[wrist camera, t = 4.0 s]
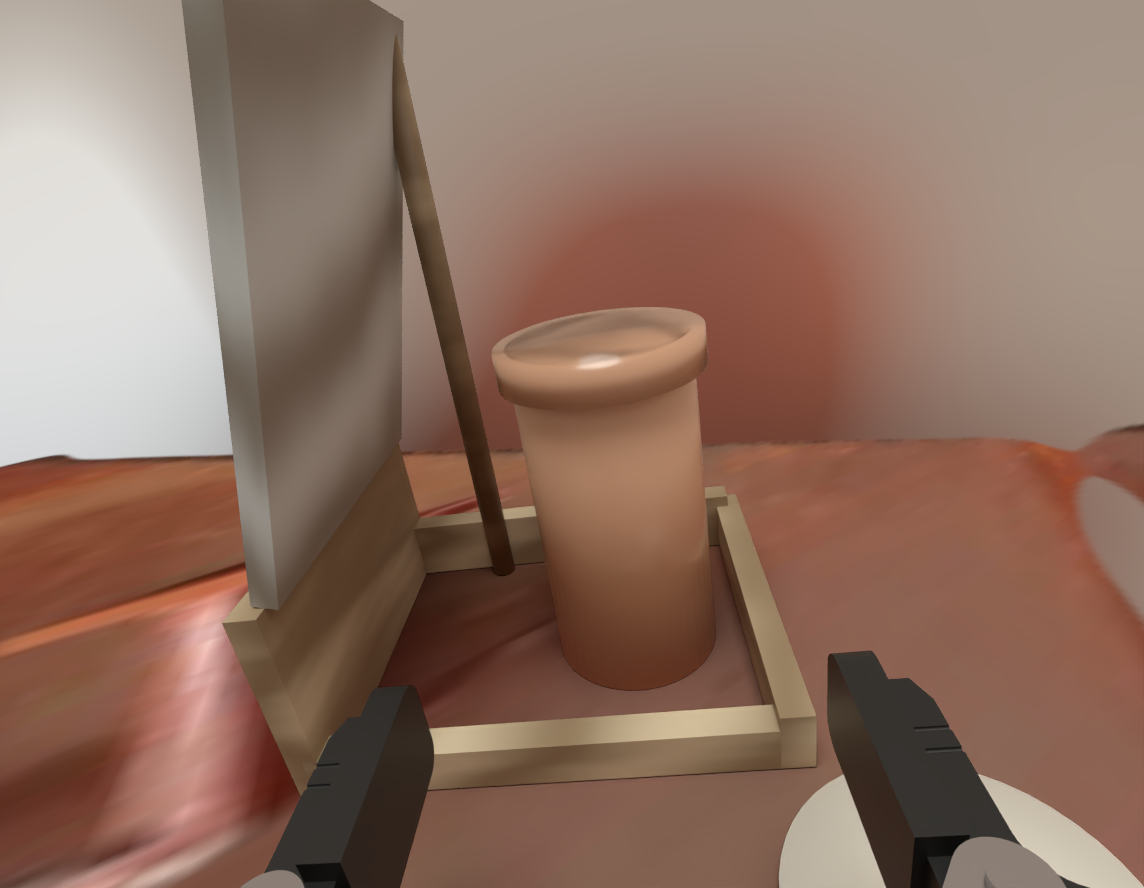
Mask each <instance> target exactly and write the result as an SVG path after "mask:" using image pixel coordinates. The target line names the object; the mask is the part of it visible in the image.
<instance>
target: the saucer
mask: <svg viewBox="0 0 1144 888" xmlns="http://www.w3.org/2000/svg"><path fill="white" fill-rule="evenodd" d="M978 775H979V777H980V779H981V780H982V782H983V784H984V786H985V787H986V789H987V791H988V792H989V794H990V796H991V797H992V799H993V801H994V803H995V804H996V806H997V808H998V809H999V811H1000V813H1001V814H1002V816H1003V818H1004V820H1005V821H1006V823H1007V825H1008V826H1009V828H1010V830H1011V831H1012V833H1013V834H1014V836H1015V837H1016V839H1017V840H1018V842H1019V843H1020V844H1021V845H1022V846H1023V847H1025V848H1026V849H1028V850H1030V851H1031V852H1033V853H1034V854H1036V855H1037V856H1039V857H1040V858H1041V859H1043V860H1044V861H1045V862H1046V863H1047V864H1048V865H1049V866H1050V867H1051V868H1052V869H1053V870H1054V871H1055V872H1056V873H1057V874H1058V875H1060V876H1062V877H1064V878H1066V879H1067V880H1070V881H1072V882H1075V883H1077V884H1079V885H1083V886H1086V887H1089V888H1144V887H1143V885H1142V884H1141V883H1140V882H1139V881H1138V880H1137V879H1136V878H1135V877H1134V876H1133V875H1132V873H1131V872H1130V871H1129V870H1128V869H1127V868H1126V867H1125V866H1124V865H1123V864H1122V863H1121V862H1120V861H1119V860H1118V859H1117V858H1116V857H1115V856H1114V855H1113V854H1111V853H1110V852H1109V851H1108V850H1107V849H1106V848H1105V847H1104V846H1103V845H1102V844H1100V843H1099V842H1098V841H1097V840H1096V839H1095V838H1093V837H1092V836H1091V835H1089V834H1088V833H1087V832H1085V831H1084V830H1083V829H1082V828H1080V827H1079V826H1078V825H1076V824H1075V823H1074V822H1072V821H1071V820H1069V819H1068V818H1066V817H1065V816H1063V815H1062V814H1060V813H1059V812H1057V811H1056V810H1054V809H1053V808H1051V807H1049V806H1048V805H1046V804H1044V803H1042V802H1040V801H1039V800H1037V799H1035V798H1033V797H1032V796H1030V795H1028V794H1026V793H1024V792H1022V791H1019V790H1017V789H1015V788H1013V787H1011V786H1009V785H1007V784H1004V783H1002V782H999V781H996V780H994V779H991V778H988V777H986V776H983V775H980V774H978ZM779 888H886V886H885V884H884V881H883V878H882V876H881V873H880V870H879V868H878V865H877V862H876V860H875V857H874V854H873V852H872V849H871V846H870V844H869V841H868V838H867V836H866V833H865V830H864V828H863V825H862V822H861V820H860V817H859V814H858V812H857V809H856V806H855V804H854V801H853V798H852V796H851V793H850V790H849V788H848V785H847V782H846V779H845V777H844V775H841V776H840V777H838V778H836V779H834V780H833V781H831V782H829V783H827V784H826V785H825V786H823V787H822V788H821V789H820V790H818V791H817V792H816V793H814V794H813V796H812V797H811V798H810V799H809V800H808V801H807V802H806V803H805V804H804V805H803V806H802V808H801V809H800V811H799V812H798V814H797V816H796V817H795V819H794V820H793V822H792V824H791V827H790V829H789V831H788V833H787V836H786V839H785V842H784V846H783V850H782V854H781V861H780V870H779Z"/></svg>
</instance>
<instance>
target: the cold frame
mask: <svg viewBox="0 0 1144 888" xmlns="http://www.w3.org/2000/svg"><path fill="white" fill-rule="evenodd" d="M182 8H183V16H184V25H185V34H186V43H187V51H188V60H189V69H190V78H191V87H192V96H193V105H194V113H195V121H196V131H197V140H198V149H199V157H200V166H201V175H202V184H203V192H204V202H205V210H206V218H207V227H208V236H209V245H210V254H211V263H212V271H213V281H214V290H215V298H216V307H217V316H218V325H219V333H220V341H221V351H222V360H223V369H224V378H225V386H226V395H227V404H228V413H229V422H230V431H231V439H232V447H233V457H234V466H235V475H236V484H237V492H238V501H239V510H240V519H241V528H242V536H243V545H244V554H245V563H246V572H247V580H248V589H249V591H248V592H247V593H246V594H245V596H244V597H243V598H242V599H241V601H240V602H239V603H238V604H237V605H236V607H235V608H234V609H233V610H232V612H231V613H230V614H229V615H228V616H227V618H226V619H225V620H224V621H223V623H222V624H223V626H224V628H225V631H226V633H227V635H228V637H229V639H230V642H231V644H232V646H233V648H234V650H235V653H236V655H237V657H238V659H239V661H240V664H241V666H242V668H243V670H244V672H245V675H246V677H247V679H248V681H249V683H250V686H251V688H252V690H253V692H254V694H255V697H256V699H257V701H258V703H259V705H260V708H261V710H262V712H263V714H264V716H265V719H266V721H267V723H268V725H269V727H270V730H271V732H272V734H273V736H274V738H275V741H276V743H277V745H278V747H279V749H280V752H281V754H282V756H283V758H284V760H285V763H286V765H287V767H288V769H289V771H290V774H291V776H292V778H293V780H294V782H295V785H296V787H297V789H298V791H299V793H300V796H302V794H303V792H304V790H306V789H307V783H308V781H309V779H310V777H311V775H312V773H313V771H314V769H316V768H317V765H316V764H317V762H318V760H319V758H320V756H321V754H322V752H323V750H324V748H325V745H326V743H327V741H328V739H329V738H330V737H331V736H332V735H333V734H334V733H335V732H336V731H337V730H338V728H339V727H340V726H341V725H342V724H343V723H344V722H345V721H346V720H347V719H348V718H350V717H360V716H361V714H362V712H363V709H364V707H365V705H366V703H367V700H368V698H369V696H370V694H371V692H372V691H373V690H374V689H375V688H378V685H379V683H380V681H381V678H382V676H383V674H384V672H385V669H386V667H387V665H388V662H389V660H390V658H391V655H392V653H393V651H394V648H395V646H396V644H397V641H398V639H399V637H400V634H401V632H402V630H403V627H404V625H405V623H406V620H407V618H408V616H409V613H410V611H411V609H412V606H413V604H414V602H415V599H416V597H417V595H418V592H419V590H420V588H421V585H422V583H423V581H424V578H425V576H426V574H427V573H433V572H443V571H453V570H464V569H474V568H484V567H493V569H494V573H495V574H497V575H507V574H510V573H511V572H513V571H514V569H515V564H525V563H536V562H545V557H544V552H543V547H542V542H541V537H540V532H539V527H538V522H537V517H536V511H535V506H529V507H519V508H510V509H502V506H501V502H500V497H499V493H498V488H497V484H496V479H495V474H494V470H493V465H492V461H491V456H490V452H489V447H488V443H487V439H486V434H485V430H484V425H483V420H482V416H481V412H480V407H479V402H478V398H477V393H476V389H475V384H474V380H473V375H472V370H471V366H470V361H469V357H468V352H467V348H466V344H465V339H464V334H463V330H462V325H461V321H460V317H459V312H458V307H457V303H456V298H455V294H454V289H453V285H452V280H451V276H450V271H449V266H448V262H447V258H446V253H445V248H444V244H443V239H442V235H441V230H440V226H439V222H438V217H437V213H436V208H435V203H434V199H433V194H432V190H431V185H430V181H429V176H428V171H427V167H426V162H425V158H424V154H423V149H422V144H421V140H420V135H419V131H418V127H417V122H416V117H415V113H414V108H413V104H412V99H411V95H410V90H409V86H408V82H407V77H406V72H405V67H404V63H403V21H402V20H400V19H399V18H397V17H396V16H394V15H392V14H391V13H389V12H388V11H386V10H384V9H383V8H381V7H380V6H377V5H376V4H374V3H373V2H371V1H370V0H182ZM403 189H404V194H405V198H406V202H407V206H408V211H409V215H410V219H411V223H412V227H413V231H414V236H415V240H416V244H417V249H418V253H419V257H420V261H421V265H422V270H423V274H424V278H425V282H426V286H427V290H428V295H429V299H430V303H431V308H432V311H433V316H434V320H435V324H436V328H437V333H438V337H439V341H440V345H441V350H442V354H443V358H444V362H445V367H446V371H447V375H448V379H449V383H450V388H451V392H452V396H453V400H454V404H455V408H456V413H457V417H458V421H459V426H460V430H461V434H462V438H463V442H464V446H465V451H466V455H467V459H468V464H469V468H470V472H471V476H472V480H473V485H474V489H475V493H476V497H477V501H478V506H479V510H480V512H472V513H463V514H454V515H444V516H435V517H425V518H420V517H419V514H418V510H417V506H416V503H415V499H414V496H413V492H412V489H411V485H410V482H409V478H408V474H407V471H406V467H405V464H404V460H403V457H402V453H401V450H400V446H399V441H400V440H401V426H402V425H401V422H402V421H401V420H402V419H401V418H402V415H401V414H402V398H401V397H402V215H403V214H402V211H403V209H402V207H403V206H402V205H403V203H402V202H403ZM705 499H706V512H707V525H708V538H709V546H711V545H719V546H720V549H721V553H722V556H723V560H724V564H725V567H726V571H727V574H728V578H729V582H730V585H731V589H732V592H733V596H734V599H735V603H736V607H737V610H738V614H739V617H740V621H741V625H742V628H743V632H744V635H745V639H746V643H747V646H748V650H749V653H750V657H751V661H752V664H753V668H754V671H755V675H756V679H757V682H758V686H759V689H760V693H761V697H762V700H763V704H764V705H758V706H744V707H730V708H716V709H701V710H687V711H673V712H659V713H645V714H631V715H616V716H602V717H588V718H574V719H560V720H546V721H532V722H517V723H503V724H489V725H475V726H461V727H447V728H432V729H429V730H430V733H431V736H432V739H433V744H434V766H433V772H432V776H431V780H430V783H429V787H428V790H436V789H452V788H469V787H485V786H502V785H519V784H535V783H552V782H568V781H585V780H602V779H618V778H635V777H652V776H668V775H685V774H701V773H718V772H735V771H751V770H768V769H785V768H801V767H816V714H815V711H814V708H813V705H812V703H811V700H810V697H809V694H808V692H807V689H806V686H805V683H804V681H803V678H802V675H801V673H800V670H799V667H798V664H797V662H796V659H795V656H794V653H793V651H792V648H791V645H790V642H789V640H788V637H787V634H786V631H785V629H784V626H783V623H782V620H781V618H780V615H779V612H778V610H777V607H776V604H775V601H774V599H773V596H772V593H771V590H770V588H769V585H768V582H767V579H766V577H765V574H764V571H763V568H762V566H761V563H760V560H759V558H758V555H757V552H756V549H755V547H754V544H753V541H752V538H751V536H750V533H749V530H748V527H747V525H746V522H745V519H744V516H743V514H742V511H741V508H740V506H739V503H738V500H737V497H736V495H735V494H731V495H727V494H726V491H725V488H724V486H716V487H707V488H705Z"/></svg>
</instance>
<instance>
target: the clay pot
mask: <svg viewBox="0 0 1144 888" xmlns="http://www.w3.org/2000/svg"><path fill="white" fill-rule="evenodd" d="M491 353H492V359H493V363H494V368H495V374H496V379H497V384H498V388H499V392H500V394H501V396H502V397H504V398H505V399H506V400H508V401H510V402H512V403H514V405H515V409H516V414H517V420H518V425H519V430H520V435H521V440H522V445H523V450H524V455H525V461H526V466H527V471H528V476H529V481H530V486H531V491H532V496H533V501H534V506H535V511H536V517H537V522H538V527H539V532H540V537H541V542H542V547H543V552H544V557H545V562H546V567H547V572H548V578H549V583H550V588H551V593H552V598H553V603H554V608H555V613H556V618H557V623H558V628H559V633H560V639H561V644H562V649H563V653H564V655H565V658H566V660H567V661H568V663H569V665H570V666H571V667H572V668H573V669H574V670H575V671H576V672H577V673H578V674H580V675H581V676H582V677H584V678H586V679H587V680H589V681H591V682H593V683H596V684H598V685H601V686H605V687H608V688H614V689H620V690H645V689H652V688H657V687H661V686H665V685H668V684H671V683H674V682H676V681H678V680H680V679H682V678H684V677H686V676H687V675H689V674H691V673H692V672H693V671H695V670H696V669H697V668H698V667H699V666H700V665H701V664H702V663H703V662H704V661H705V660H706V659H707V657H708V656H709V654H710V653H711V651H712V648H713V646H714V642H715V636H716V630H715V617H714V604H713V591H712V578H711V565H710V552H709V538H708V525H707V512H706V499H705V486H704V473H703V460H702V447H701V434H700V420H699V407H698V394H697V382H696V378H697V377H698V376H699V375H700V374H701V373H702V372H703V371H704V370H705V368H706V367H707V364H708V354H707V339H706V325H705V321H704V319H703V318H702V317H701V316H699V315H697V314H695V313H692V312H689V311H685V310H680V309H673V308H661V307H660V308H659V307H635V308H619V309H609V310H601V311H594V312H587V313H582V314H576V315H571V316H566V317H562V318H558V319H554V320H550V321H546V322H543V323H539V324H536V325H534V326H530V327H528V328H525V329H522V330H520V331H518V332H515V333H513V334H512V335H509V336H507V337H506V338H504V339H502V340H501V341H500V342H498V343H497V344H496V345H495V347H494V348H493V350H492V352H491Z"/></svg>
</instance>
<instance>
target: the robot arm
mask: <svg viewBox="0 0 1144 888" xmlns="http://www.w3.org/2000/svg"><path fill="white" fill-rule="evenodd" d="M827 716H828V725H829V731H830V736H831V740H832V744H833V747H834V750H835V753H836V755H837V758H838V761H839V763H840V766H841V769H842V771H843V774H844V777H845V779H846V782H847V785H848V788H849V790H850V793H851V796H852V798H853V801H854V804H855V806H856V809H857V812H858V814H859V817H860V820H861V822H862V825H863V828H864V830H865V833H866V836H867V838H868V841H869V844H870V846H871V849H872V852H873V854H874V857H875V860H876V862H877V865H878V868H879V870H880V873H881V876H882V878H883V881H884V884H885V886H886V888H1089V887H1086V886H1083V885H1079V884H1077V883H1075V882H1072V881H1070V880H1067V879H1066V878H1064V877H1062V876H1060V875H1058V874H1057V873H1056V872H1055V871H1054V870H1053V869H1052V868H1051V867H1050V866H1049V865H1048V864H1047V863H1046V862H1045V861H1044V860H1043V859H1041V858H1040V857H1039V856H1037V855H1036V854H1034V853H1033V852H1031V851H1030V850H1028V849H1026V848H1025V847H1023V846H1022V845H1021V844H1020V843H1019V842H1018V840H1017V839H1016V837H1015V836H1014V834H1013V833H1012V831H1011V830H1010V828H1009V826H1008V825H1007V823H1006V821H1005V820H1004V818H1003V816H1002V814H1001V813H1000V811H999V809H998V808H997V806H996V804H995V803H994V801H993V799H992V797H991V796H990V794H989V792H988V791H987V789H986V787H985V786H984V784H983V782H982V780H981V779H980V777H979V775H978V774H977V772H976V770H975V769H974V767H973V765H972V763H971V762H970V760H969V758H968V757H967V755H966V753H965V752H963V751H962V748H961V745H960V743H959V741H958V740H957V738H956V736H955V735H954V733H953V731H952V730H950V729H949V724H948V723H947V721H946V719H945V718H944V716H943V714H942V713H941V711H940V709H939V707H938V706H937V704H936V702H935V701H934V699H933V698H932V697H930V696H929V695H928V694H927V693H926V692H924V691H923V690H922V689H921V688H920V687H919V686H917V685H916V684H915V683H914V682H913V681H911V680H910V679H909V678H902V679H888V678H887V676H886V674H885V672H884V670H883V668H882V666H881V665H880V663H879V661H878V659H877V657H876V655H875V654H874V653H873V652H872V651H859V652H846V653H834V654H829V656H828V696H827ZM316 765H317V768H316V769H314V771H313V773H312V775H311V777H310V779H309V781H308V783H307V789H306V790H304V792H303V794H302V796H301V798H300V800H299V802H298V804H297V806H296V808H295V810H294V813H293V815H292V817H291V819H290V821H289V823H288V825H287V827H286V829H285V831H284V834H283V836H282V838H281V840H280V842H279V844H278V846H277V848H276V850H275V852H274V854H273V857H272V859H271V861H270V863H269V865H268V867H267V869H266V871H265V872H264V874H262V875H259V876H257V877H255V878H253V879H252V880H250V881H249V882H247V883H246V884H244V885H243V886H242V887H241V888H400V885H401V882H402V878H403V875H404V871H405V868H406V864H407V861H408V857H409V854H410V850H411V847H412V843H413V840H414V836H415V833H416V829H417V825H418V822H419V818H420V815H421V811H422V808H423V804H424V801H425V797H426V794H427V790H428V787H429V783H430V780H431V776H432V772H433V766H434V744H433V739H432V736H431V733H430V730H429V727H428V724H427V720H426V717H425V714H424V711H423V708H422V705H421V702H420V699H419V696H418V693H417V690H416V688H415V687H414V686H413V685H406V686H393V687H381V688H375V689H374V690H373V691H372V692H371V694H370V696H369V698H368V700H367V703H366V705H365V707H364V709H363V712H362V714H361V716H360V717H350V718H348V719H347V720H346V721H345V722H344V723H343V724H342V725H341V726H340V727H339V728H338V730H337V731H336V732H335V733H334V734H333V735H332V736H331V737H330V738H329V739H328V741H327V743H326V745H325V748H324V750H323V752H322V754H321V756H320V758H319V760H318V762H317V764H316Z"/></svg>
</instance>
